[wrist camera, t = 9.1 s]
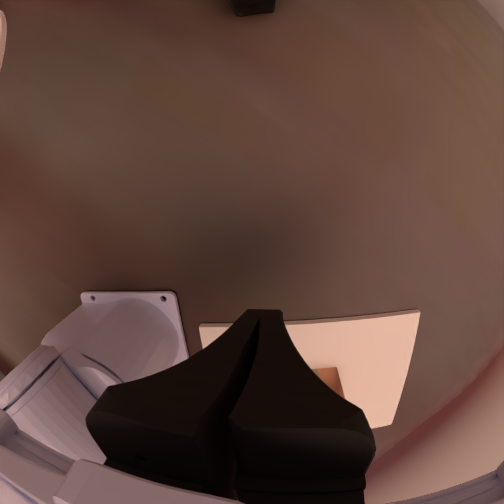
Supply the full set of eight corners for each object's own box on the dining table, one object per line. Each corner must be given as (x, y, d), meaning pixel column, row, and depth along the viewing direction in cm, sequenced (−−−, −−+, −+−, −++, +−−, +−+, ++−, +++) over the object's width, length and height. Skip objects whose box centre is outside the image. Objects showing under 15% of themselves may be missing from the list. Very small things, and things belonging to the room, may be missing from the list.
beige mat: (223, 432, 27) (222, 436, 26) (200, 323, 23) (198, 327, 22) (389, 420, 25) (391, 424, 24) (417, 309, 21) (420, 312, 21)
